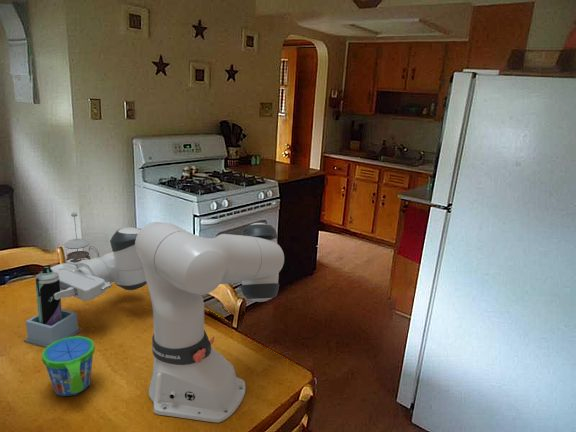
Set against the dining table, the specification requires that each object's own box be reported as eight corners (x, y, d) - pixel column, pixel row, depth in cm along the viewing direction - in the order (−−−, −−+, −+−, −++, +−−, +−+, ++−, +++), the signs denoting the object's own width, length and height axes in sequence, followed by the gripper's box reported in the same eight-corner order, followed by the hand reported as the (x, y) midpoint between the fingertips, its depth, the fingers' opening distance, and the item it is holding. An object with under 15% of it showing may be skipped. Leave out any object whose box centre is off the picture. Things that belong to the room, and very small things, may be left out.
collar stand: (82, 330, 119) (80, 312, 117) (53, 350, 110) (51, 330, 108) (54, 323, 122) (52, 305, 120) (23, 341, 112) (21, 322, 111)
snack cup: (46, 372, 101) (41, 336, 98) (94, 361, 106) (91, 326, 103) (46, 416, 88) (41, 375, 85) (101, 401, 93) (97, 362, 90)
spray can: (53, 341, 112) (48, 272, 107) (35, 337, 113) (29, 269, 108) (67, 331, 117) (63, 264, 112) (50, 328, 118) (45, 261, 113)
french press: (67, 275, 152) (60, 209, 145) (102, 272, 156) (97, 208, 148) (62, 287, 143) (54, 217, 136) (99, 284, 147) (93, 216, 140)
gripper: (116, 294, 119) (72, 314, 107) (69, 276, 128) (23, 293, 116) (115, 274, 117) (70, 292, 106) (67, 257, 126) (21, 273, 115)
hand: (45, 293), depth 111 cm, fingers open, 5 cm apart
